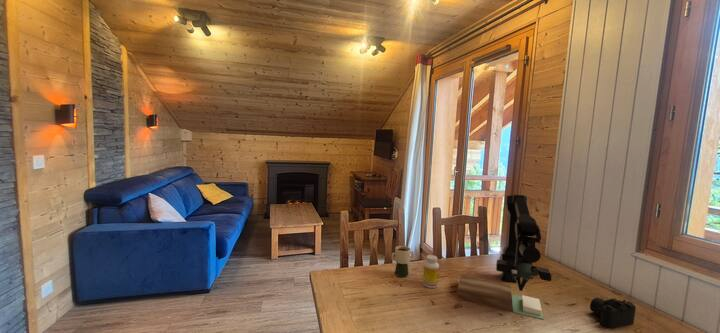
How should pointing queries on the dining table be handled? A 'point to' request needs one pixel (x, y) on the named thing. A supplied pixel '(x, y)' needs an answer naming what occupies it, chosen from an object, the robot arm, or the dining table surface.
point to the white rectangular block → (531, 305)
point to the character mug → (402, 260)
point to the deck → (485, 292)
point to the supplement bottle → (431, 272)
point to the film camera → (613, 312)
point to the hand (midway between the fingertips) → (520, 290)
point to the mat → (519, 309)
